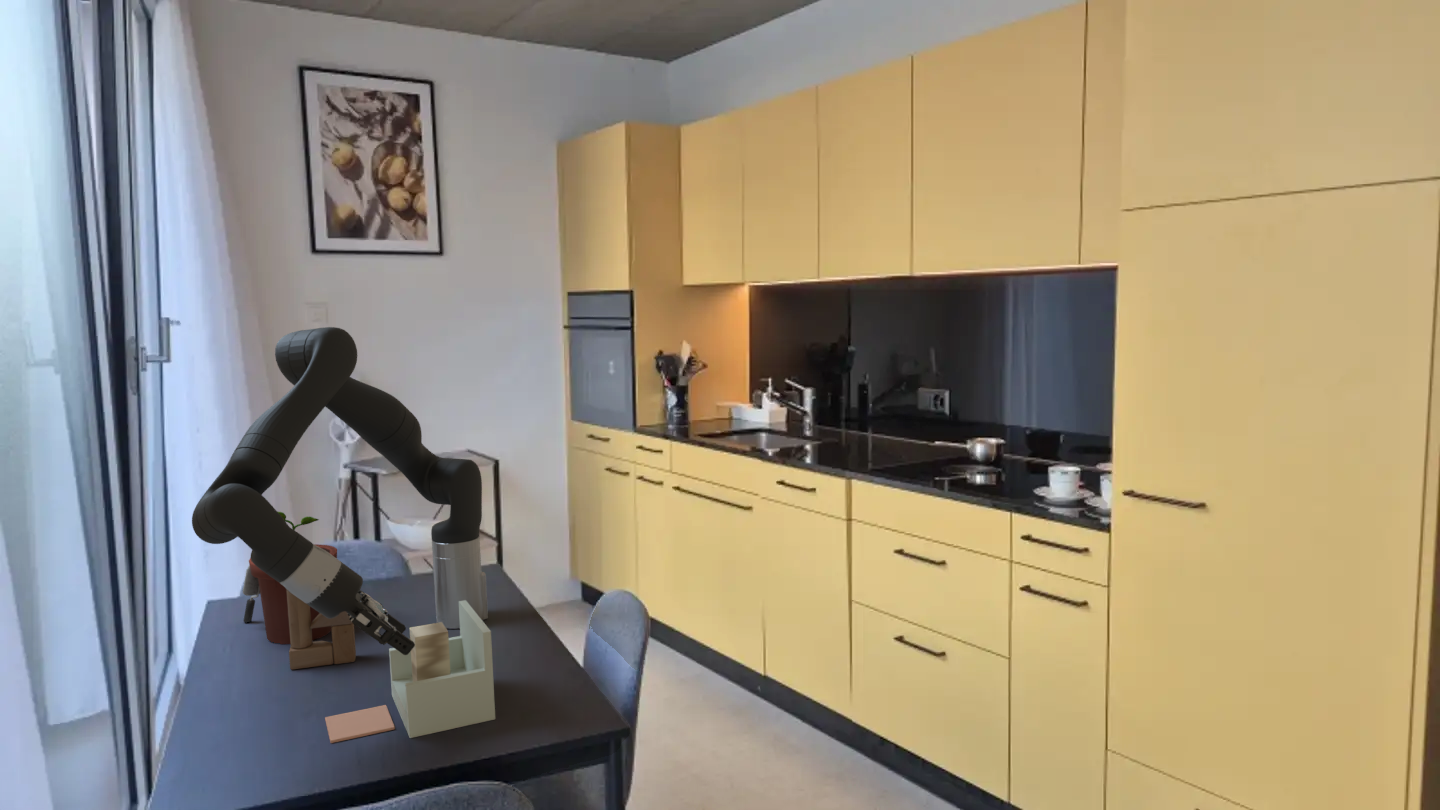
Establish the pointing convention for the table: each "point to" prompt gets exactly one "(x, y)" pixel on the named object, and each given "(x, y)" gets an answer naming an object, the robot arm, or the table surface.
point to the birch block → (430, 651)
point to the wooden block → (320, 651)
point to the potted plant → (277, 598)
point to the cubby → (448, 682)
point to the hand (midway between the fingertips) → (406, 641)
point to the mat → (359, 723)
